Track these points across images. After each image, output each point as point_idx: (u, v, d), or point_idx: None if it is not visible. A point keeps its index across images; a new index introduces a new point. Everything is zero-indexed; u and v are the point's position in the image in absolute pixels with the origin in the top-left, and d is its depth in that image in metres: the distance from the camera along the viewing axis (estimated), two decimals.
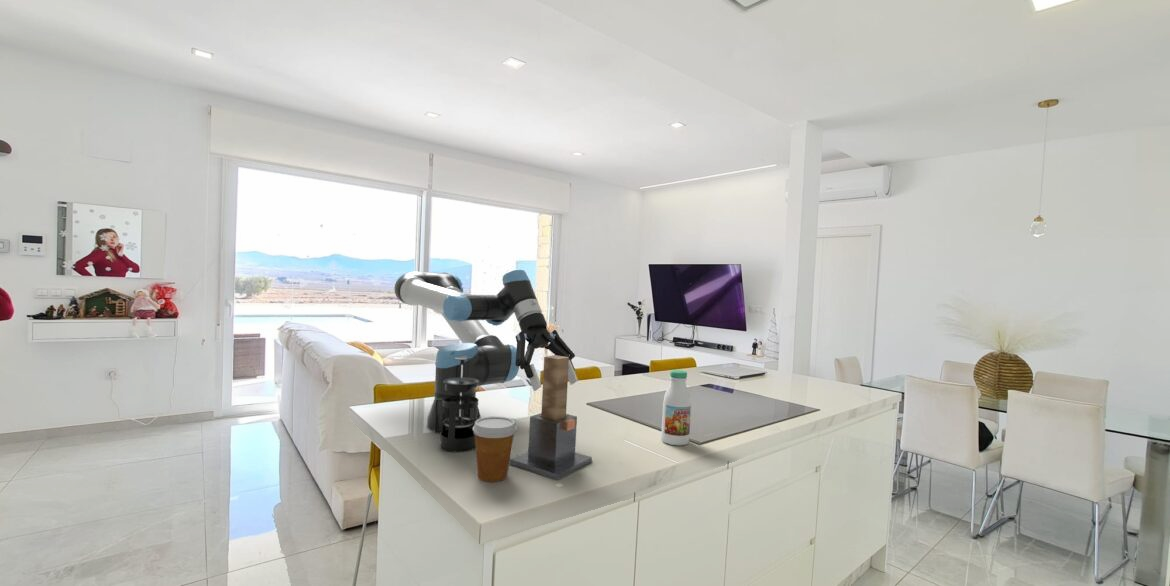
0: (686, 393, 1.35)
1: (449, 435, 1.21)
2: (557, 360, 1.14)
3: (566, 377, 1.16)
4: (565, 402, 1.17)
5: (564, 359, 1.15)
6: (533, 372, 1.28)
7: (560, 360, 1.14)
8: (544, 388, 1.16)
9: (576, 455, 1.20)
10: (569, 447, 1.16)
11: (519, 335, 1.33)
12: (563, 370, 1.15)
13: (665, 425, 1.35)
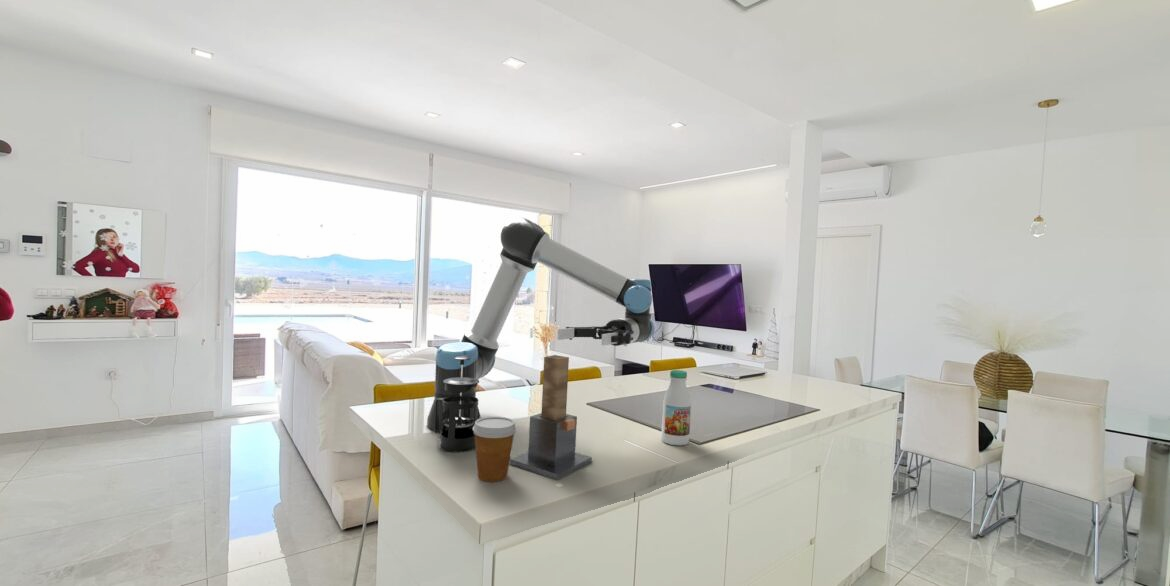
0: (686, 393, 1.35)
1: (449, 435, 1.21)
2: (557, 360, 1.14)
3: (566, 377, 1.16)
4: (565, 402, 1.17)
5: (564, 359, 1.15)
6: (612, 342, 1.24)
7: (560, 360, 1.14)
8: (544, 388, 1.16)
9: (576, 455, 1.20)
10: (569, 447, 1.16)
11: (632, 337, 1.33)
12: (563, 370, 1.15)
13: (665, 425, 1.35)
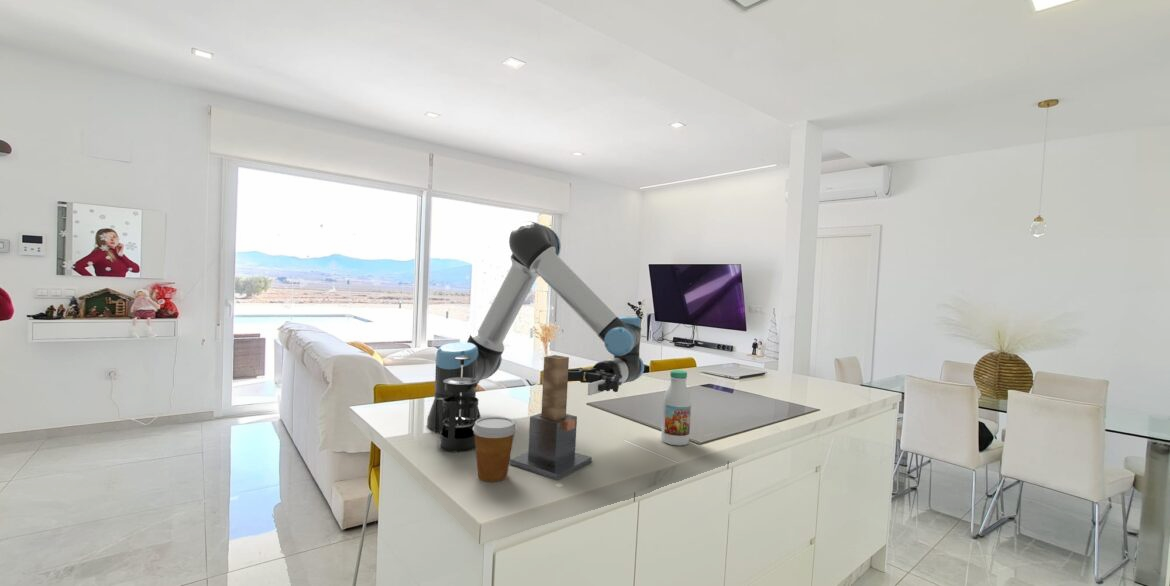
0: (686, 393, 1.35)
1: (449, 435, 1.21)
2: (557, 360, 1.14)
3: (566, 377, 1.16)
4: (565, 402, 1.17)
5: (564, 359, 1.15)
6: (599, 391, 1.18)
7: (560, 360, 1.14)
8: (544, 388, 1.16)
9: (576, 455, 1.20)
10: (569, 447, 1.16)
11: (620, 382, 1.28)
12: (563, 370, 1.15)
13: (665, 425, 1.35)
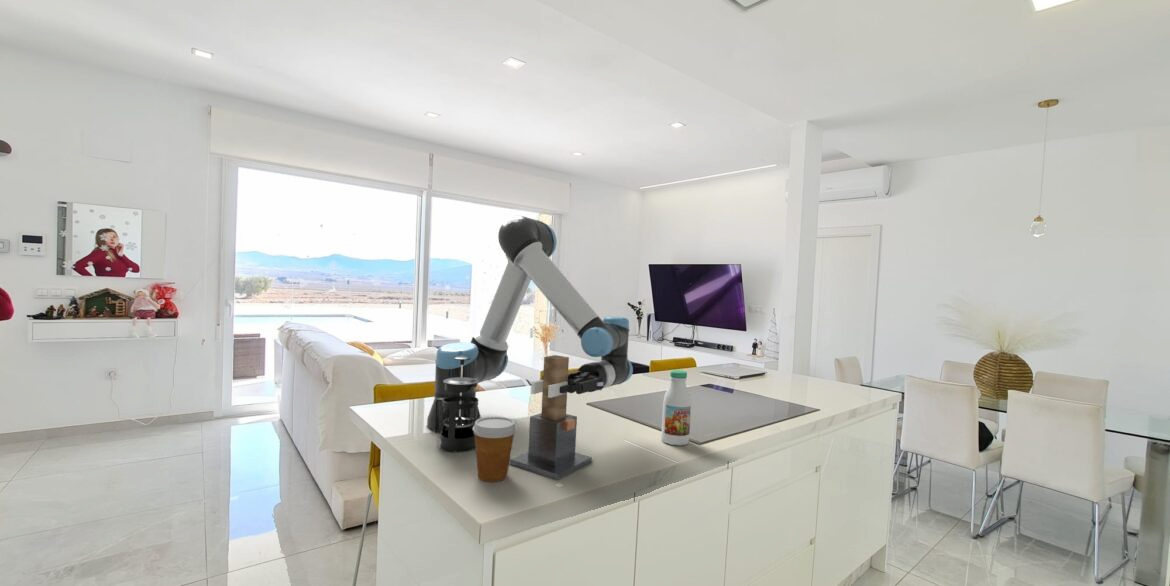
0: (686, 393, 1.35)
1: (449, 435, 1.21)
2: (557, 360, 1.14)
3: (566, 377, 1.16)
4: (565, 402, 1.17)
5: (564, 359, 1.15)
6: (561, 393, 1.14)
7: (560, 360, 1.14)
8: (544, 388, 1.16)
9: (576, 455, 1.20)
10: (569, 447, 1.16)
11: (600, 386, 1.22)
12: (563, 370, 1.15)
13: (665, 425, 1.35)
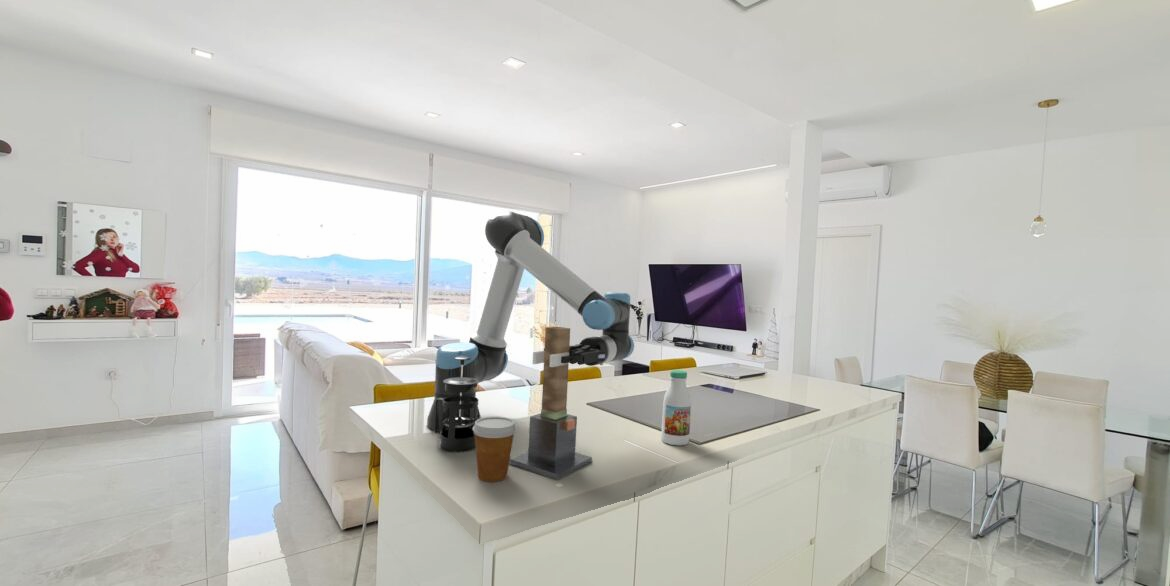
0: (686, 393, 1.35)
1: (449, 435, 1.21)
2: (558, 330, 1.13)
3: (567, 348, 1.16)
4: (566, 373, 1.17)
5: (565, 330, 1.15)
6: (562, 363, 1.14)
7: (561, 330, 1.14)
8: (545, 359, 1.15)
9: (576, 455, 1.20)
10: (569, 447, 1.16)
11: (602, 358, 1.21)
12: (565, 341, 1.15)
13: (665, 425, 1.35)
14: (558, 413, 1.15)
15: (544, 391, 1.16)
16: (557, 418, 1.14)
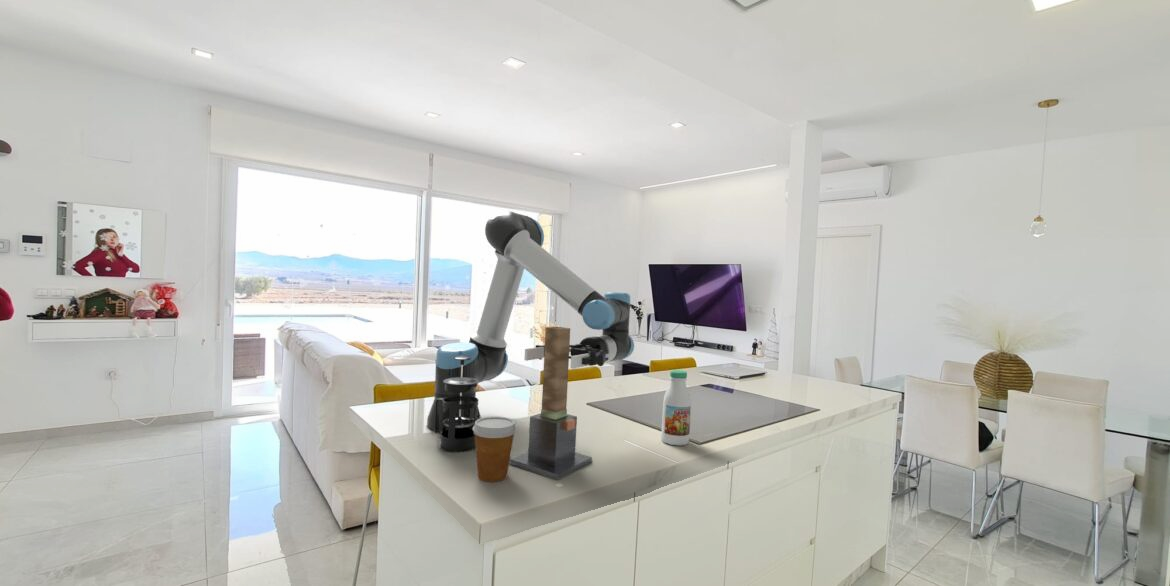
0: (686, 393, 1.35)
1: (449, 435, 1.21)
2: (558, 330, 1.13)
3: (567, 348, 1.16)
4: (566, 373, 1.17)
5: (565, 330, 1.15)
6: (583, 365, 1.13)
7: (561, 330, 1.14)
8: (545, 359, 1.15)
9: (576, 455, 1.20)
10: (569, 447, 1.16)
11: (607, 358, 1.23)
12: (565, 341, 1.15)
13: (665, 425, 1.35)
14: (559, 413, 1.15)
15: (544, 391, 1.16)
16: (557, 418, 1.14)
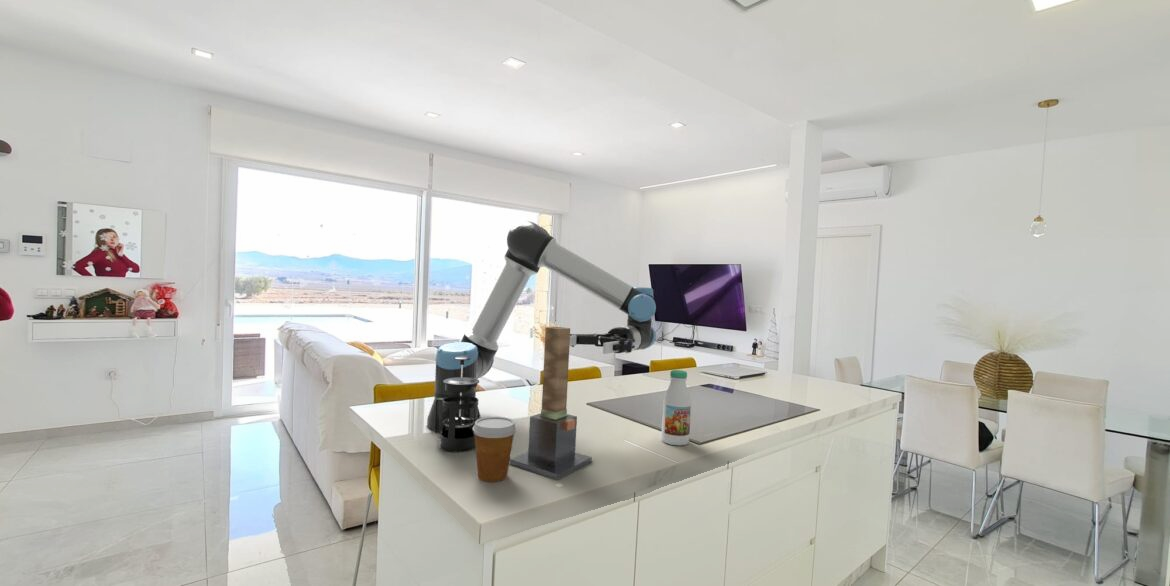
0: (686, 393, 1.35)
1: (449, 435, 1.21)
2: (558, 330, 1.13)
3: (567, 348, 1.16)
4: (566, 373, 1.17)
5: (565, 330, 1.15)
6: (614, 351, 1.25)
7: (561, 330, 1.14)
8: (545, 359, 1.15)
9: (576, 455, 1.20)
10: (569, 447, 1.16)
11: (634, 346, 1.35)
12: (565, 341, 1.15)
13: (665, 425, 1.35)
14: (559, 413, 1.15)
15: (544, 391, 1.16)
16: (557, 418, 1.14)
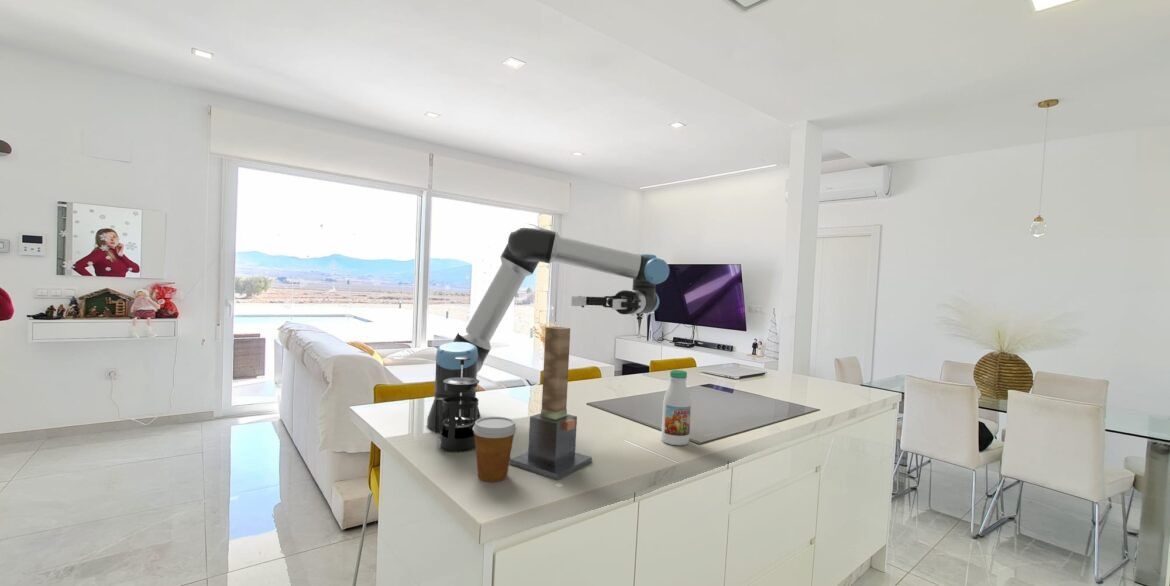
0: (686, 393, 1.35)
1: (449, 435, 1.21)
2: (558, 330, 1.13)
3: (567, 348, 1.16)
4: (566, 373, 1.17)
5: (565, 330, 1.15)
6: (622, 308, 1.35)
7: (561, 330, 1.14)
8: (545, 359, 1.15)
9: (576, 455, 1.20)
10: (569, 447, 1.16)
11: (640, 305, 1.45)
12: (565, 341, 1.15)
13: (665, 425, 1.35)
14: (559, 413, 1.15)
15: (544, 391, 1.16)
16: (557, 418, 1.14)
